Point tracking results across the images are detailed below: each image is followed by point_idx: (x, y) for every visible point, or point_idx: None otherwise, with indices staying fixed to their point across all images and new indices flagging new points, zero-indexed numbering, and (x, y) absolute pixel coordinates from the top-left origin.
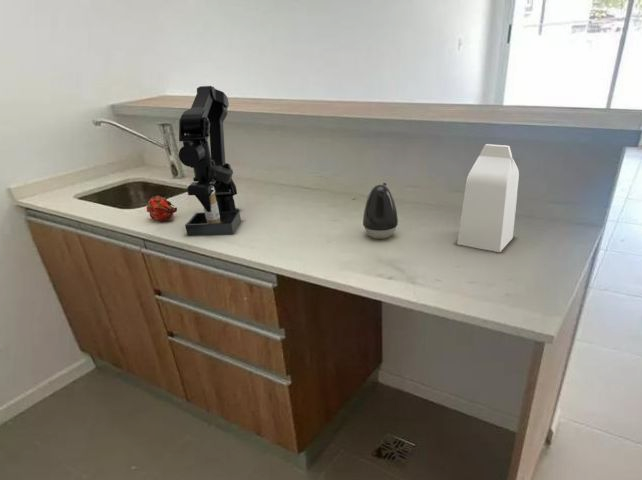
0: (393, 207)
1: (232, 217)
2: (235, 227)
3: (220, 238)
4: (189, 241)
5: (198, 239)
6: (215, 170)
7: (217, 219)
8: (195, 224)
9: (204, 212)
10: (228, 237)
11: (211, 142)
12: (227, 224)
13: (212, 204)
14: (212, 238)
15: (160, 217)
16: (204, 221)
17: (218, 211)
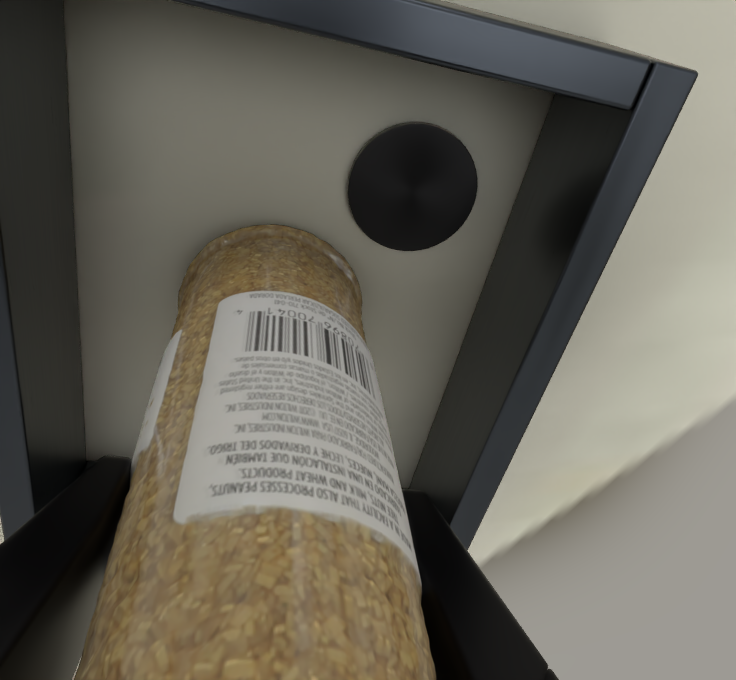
0: None
1: (33, 60)
2: (444, 2)
3: (666, 218)
4: (573, 482)
5: (564, 424)
6: None
7: (342, 316)
8: (465, 534)
9: (3, 498)
10: (693, 115)
11: None
12: (657, 147)
13: (410, 558)
14: (612, 304)
15: None
16: (76, 429)
17: (286, 354)
